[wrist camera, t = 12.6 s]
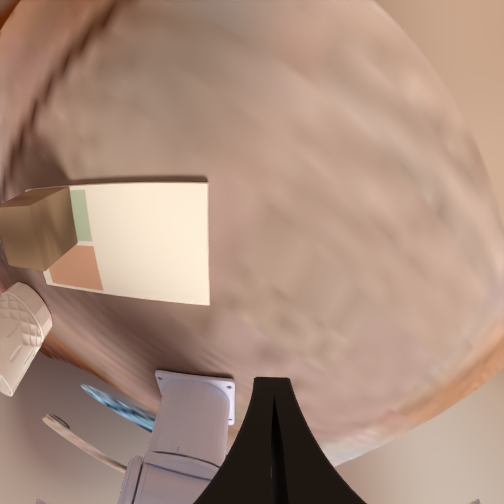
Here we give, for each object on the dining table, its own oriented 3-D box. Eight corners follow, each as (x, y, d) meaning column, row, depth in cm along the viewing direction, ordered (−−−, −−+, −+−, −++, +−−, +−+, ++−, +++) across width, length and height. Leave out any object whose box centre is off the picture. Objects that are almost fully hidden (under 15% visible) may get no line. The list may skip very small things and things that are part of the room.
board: (210, 302, 20) (209, 305, 20) (49, 282, 20) (46, 284, 20) (208, 182, 16) (207, 183, 16) (28, 189, 16) (25, 190, 16)
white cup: (3, 292, 22) (-44, 342, 13) (21, 264, 20) (-40, 323, 11) (42, 341, 25) (4, 398, 16) (67, 323, 23) (20, 394, 14)
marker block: (78, 242, 18) (44, 271, 14) (41, 240, 18) (8, 265, 14) (69, 186, 16) (29, 205, 12) (31, 189, 16) (-6, 207, 12)
